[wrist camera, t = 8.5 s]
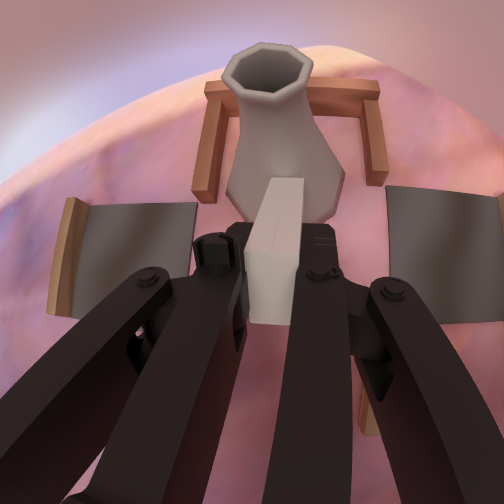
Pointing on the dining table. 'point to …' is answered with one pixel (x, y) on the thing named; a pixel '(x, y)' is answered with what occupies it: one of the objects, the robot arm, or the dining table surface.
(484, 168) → the dining table surface
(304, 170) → the flask
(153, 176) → the dining table surface
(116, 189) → the dining table surface
